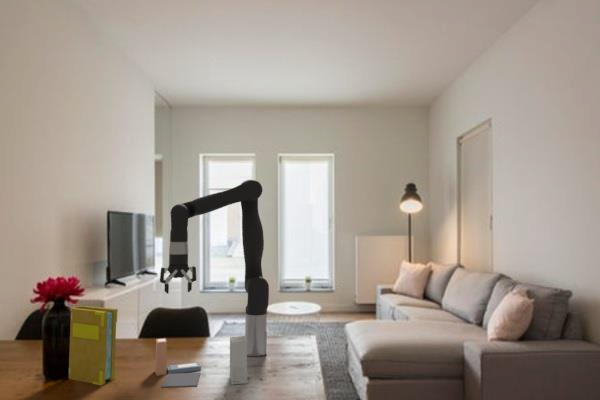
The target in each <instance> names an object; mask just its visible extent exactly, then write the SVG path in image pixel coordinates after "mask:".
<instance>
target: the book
mask: <svg viewBox="0 0 600 400" xmlns="http://www.w3.org/2000/svg"><path fill="white" fill-rule="evenodd" d="M118 311H119V309H118V308H112V307H108V308H107V307H98V306H91V305H90V306H89V305H88V306H87V305H76V306H72V307H71V308H70V325H69V327H70V331H69V351H68V352H69V354H68V355H69V356H68V379H69V380H72V381H76V382H83V383H87V384H88V383H89V384H92V385H95V386H96V385H97V386H104V385H106V381H113V380H115V379H116V367H117V366H116V345H117V344H116V340H117V339H116V338H117V337H116V336H117V323H118Z"/></svg>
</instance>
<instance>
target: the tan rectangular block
mask: <svg viewBox="0 0 600 400" xmlns="http://www.w3.org/2000/svg"><path fill="white" fill-rule="evenodd" d="M167 349H168V341H167V338H166V337H164V338H156V339H155V366H154V367H155V368H154V369H155V370H154V371H155V376H164V375H166V376H167V359H168V358H167V357H168V355H167V353H168V352H167V351H168V350H167Z"/></svg>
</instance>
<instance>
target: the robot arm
mask: <svg viewBox="0 0 600 400" xmlns="http://www.w3.org/2000/svg"><path fill="white" fill-rule="evenodd" d="M262 193H263V186H262V183H260V182H259V181H258V180H256V179H246V180H244V181H243V182H242V183H240V184H239V185H237V186H235V187H233V188H229V189H226V190H223V191H219V192H215V193H211V194H207V195H204V196H201V197H200V196H199V197H198V198H196V199H193V200H191V201H187V202H183V203H179V204H178V203H177V204H176V205H173V206H172V207H171V210H170V231H169V232H170V233H169V234H170V236H169V247H168V248H169V249H168V251H169V253H168V267H160V272H159V273H160V274H159V275H160V276H159V282H160V283H161V284H164V293H166V294H169V290H170V289H169V288H170V284H169V283H170V281H171V280H172V279H173V278H174V279H177V278H185V279H186V281H187V293H191V291H192V289H193V287H192V284H193V282H195V281H197V268H196V266H194V265H193V266H189V243H188V242H189V240H188V239H189V230H188V225H189V219H190V218H193V217H196V216H201V215H205V214H208V213H211V212H214V211H217V210H219V209H221V208H225V207H227V206H230V205H232V204H237V203H240V206H241V236H242V249H243V258H244V290H245V291H246V293H247V304H246V306H245V322H244V323H245V327H244V330H245V331H244V332H245V333H244V336H245V337H246V340H247V357H248V356H249V357H262V356H266V355H267V352H268V351H267V348H268V347H267V345H268V341H267V340H268V331H267V325H268V324H267V323H268V321H267V320H268V309H269V308H268V307H269V299H270V285H269V282H268V280H266V279H265V278H264V277H263V270H262V269H263V268H262V261H263V260H262V258H263V255H264V254H263V253H264V246H265V245H264V244H265V240H264V230H263V224H262V220H261V218H260V214H259V198H260V197H261V195H262ZM189 271H190V272H191V275H192V277H191V278H190V276H189V275H188V272H189ZM167 272H168V273H169V275H168V276H167V278H165V274H166V273H167ZM164 278H165V279H164ZM265 354H266V355H265ZM261 355H262V356H261Z"/></svg>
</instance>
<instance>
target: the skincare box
mask: <svg viewBox="0 0 600 400" xmlns="http://www.w3.org/2000/svg"><path fill="white" fill-rule="evenodd" d="M229 379H230V384H231V385H246V384H248V355H247V340H246V337H245V335H243V336H242V335H241V336H240V335H239V336H229Z"/></svg>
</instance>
